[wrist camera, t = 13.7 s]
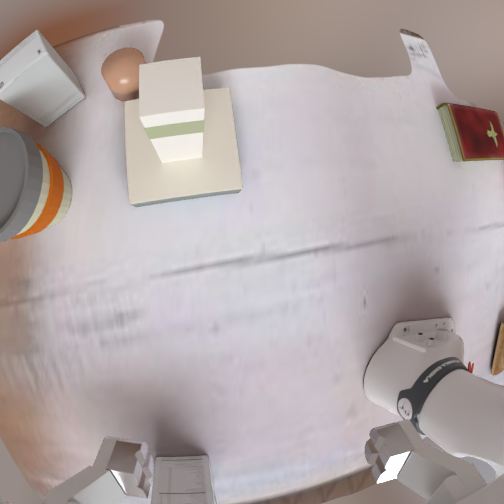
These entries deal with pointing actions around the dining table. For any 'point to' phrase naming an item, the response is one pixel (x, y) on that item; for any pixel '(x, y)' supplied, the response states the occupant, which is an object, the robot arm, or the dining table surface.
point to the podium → (189, 170)
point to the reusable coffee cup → (29, 187)
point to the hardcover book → (472, 132)
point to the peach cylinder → (123, 73)
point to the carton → (173, 107)
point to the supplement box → (183, 481)
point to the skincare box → (38, 81)
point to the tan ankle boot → (499, 353)
